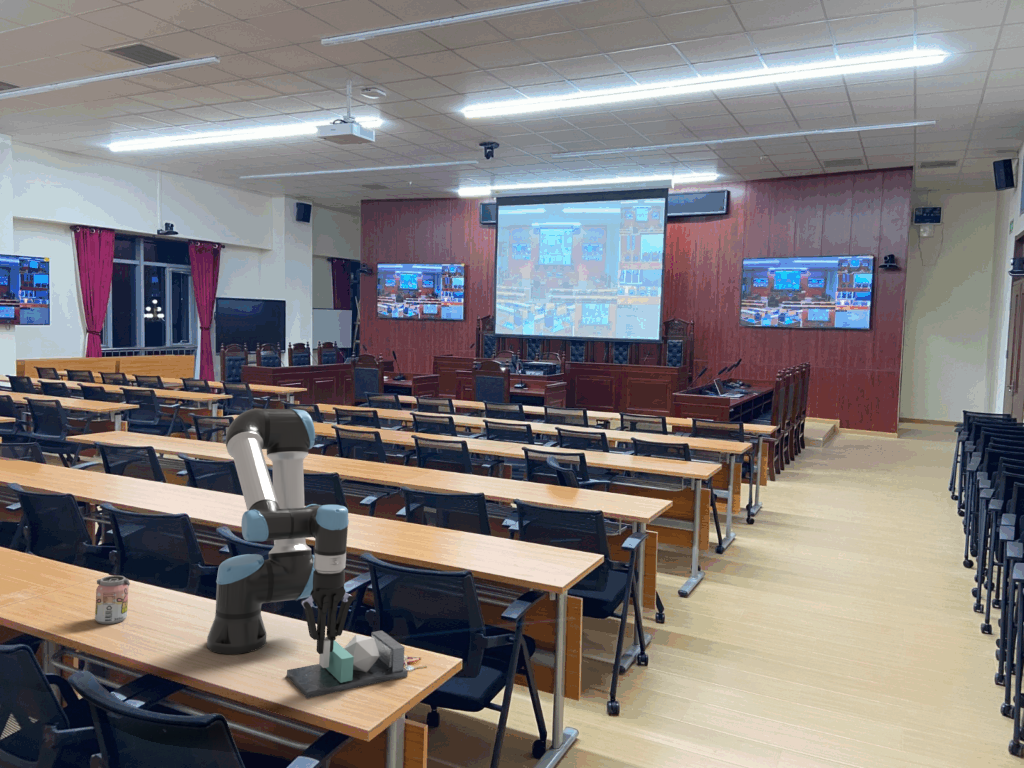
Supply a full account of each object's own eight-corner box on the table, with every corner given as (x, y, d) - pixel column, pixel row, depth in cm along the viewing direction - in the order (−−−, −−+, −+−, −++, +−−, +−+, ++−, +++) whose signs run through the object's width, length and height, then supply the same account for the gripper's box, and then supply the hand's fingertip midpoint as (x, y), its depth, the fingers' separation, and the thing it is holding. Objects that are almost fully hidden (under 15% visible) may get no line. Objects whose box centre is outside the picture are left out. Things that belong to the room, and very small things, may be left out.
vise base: (286, 676, 182) (288, 645, 182) (383, 657, 197) (384, 629, 197) (306, 698, 171) (308, 666, 171) (407, 676, 186) (409, 647, 186)
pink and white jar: (99, 614, 216) (101, 573, 216) (131, 613, 219) (133, 573, 218) (90, 625, 208) (92, 583, 207) (123, 624, 210) (125, 582, 210)
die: (384, 668, 188) (373, 631, 192) (380, 663, 181) (369, 625, 185) (352, 680, 187) (342, 643, 191) (348, 676, 179) (337, 637, 183)
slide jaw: (320, 663, 187) (321, 640, 187) (333, 660, 189) (334, 638, 189) (340, 682, 176) (341, 659, 176) (354, 680, 178) (355, 656, 178)
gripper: (309, 576, 173) (303, 676, 174) (360, 570, 181) (355, 666, 181) (298, 568, 179) (292, 664, 180) (348, 563, 187) (343, 655, 187)
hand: (323, 665), depth 180 cm, fingers closed
